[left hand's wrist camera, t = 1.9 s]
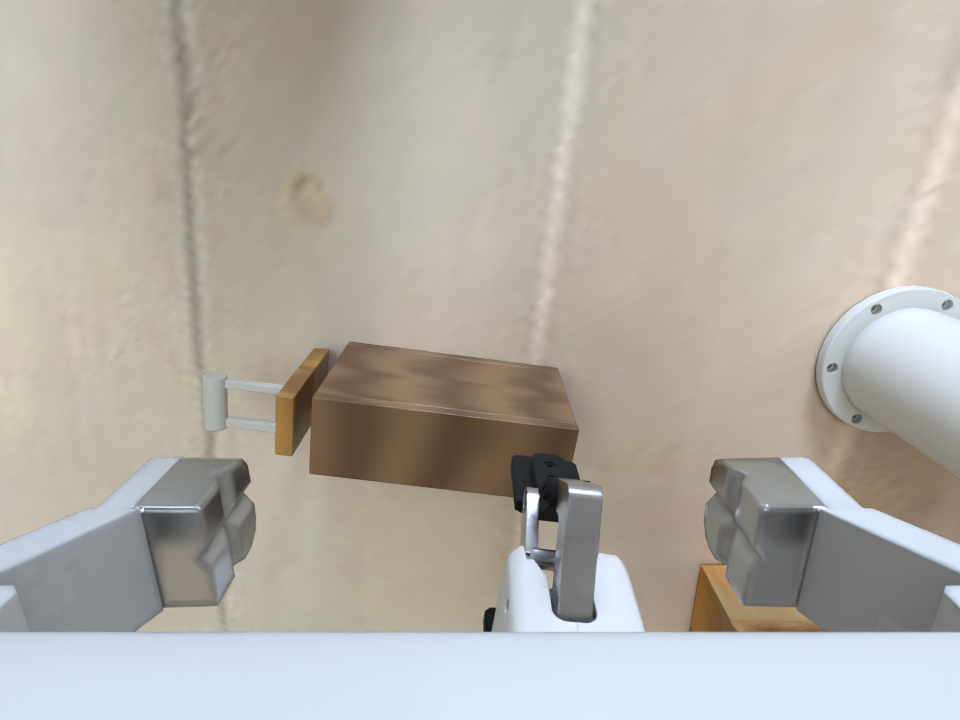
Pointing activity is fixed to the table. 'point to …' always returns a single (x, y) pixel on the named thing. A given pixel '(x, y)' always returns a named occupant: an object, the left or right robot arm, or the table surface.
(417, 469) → the cabinet
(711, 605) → the bread
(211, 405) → the drawer
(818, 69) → the table surface
